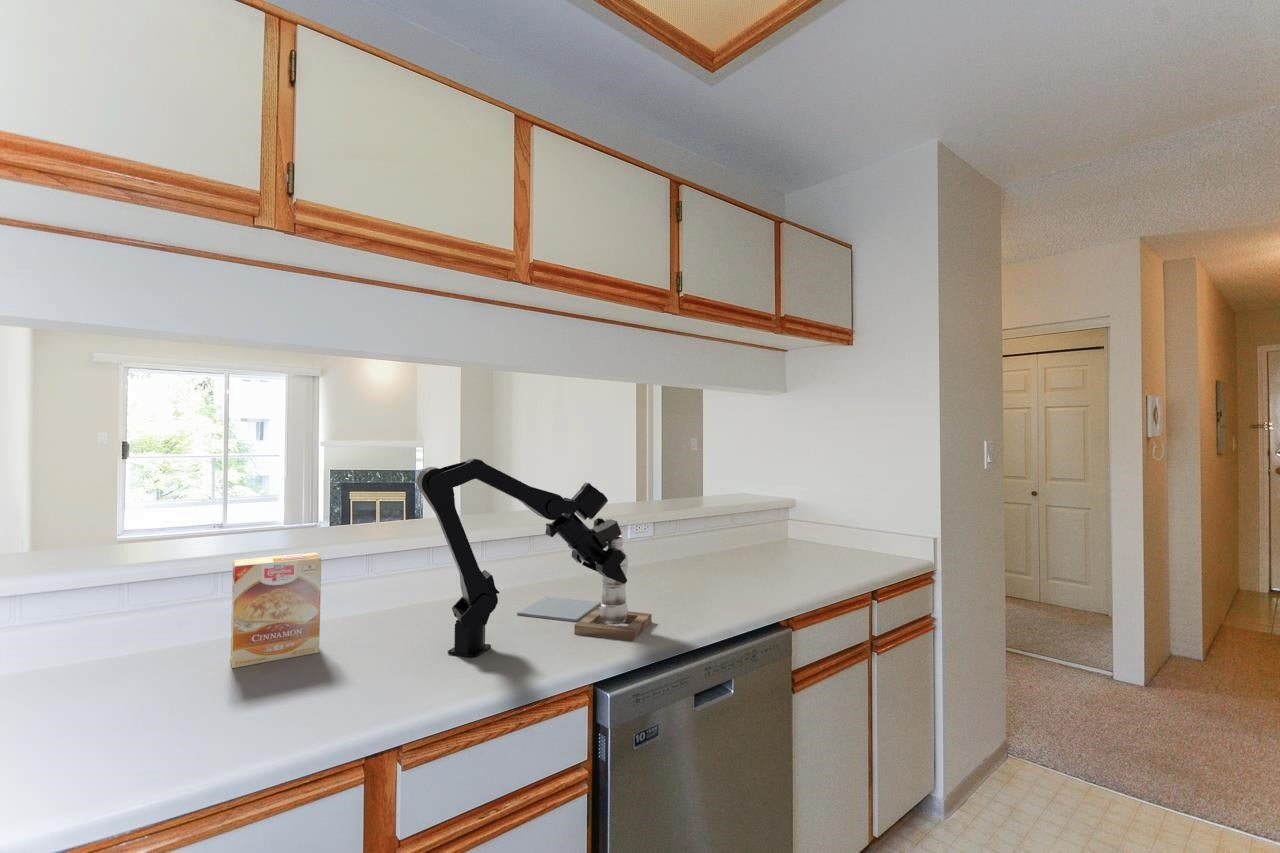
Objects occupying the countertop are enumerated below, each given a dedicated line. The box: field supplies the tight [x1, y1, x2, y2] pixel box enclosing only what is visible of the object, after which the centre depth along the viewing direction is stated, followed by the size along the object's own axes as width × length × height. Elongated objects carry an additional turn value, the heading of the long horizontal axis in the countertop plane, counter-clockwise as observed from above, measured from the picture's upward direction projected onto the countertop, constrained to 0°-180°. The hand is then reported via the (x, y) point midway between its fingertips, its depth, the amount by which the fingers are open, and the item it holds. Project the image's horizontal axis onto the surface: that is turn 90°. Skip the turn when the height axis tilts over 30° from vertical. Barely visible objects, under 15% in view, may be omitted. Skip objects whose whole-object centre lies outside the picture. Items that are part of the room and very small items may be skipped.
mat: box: [516, 596, 602, 623], centre depth 155 cm, size 16×16×1 cm
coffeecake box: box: [230, 551, 322, 669], centre depth 121 cm, size 15×7×20 cm, turn 126°
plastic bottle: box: [599, 535, 629, 625], centre depth 141 cm, size 6×7×20 cm
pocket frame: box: [573, 607, 653, 642], centre depth 141 cm, size 14×14×2 cm
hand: (619, 579), depth 141 cm, fingers closed on plastic bottle, 6 cm apart
